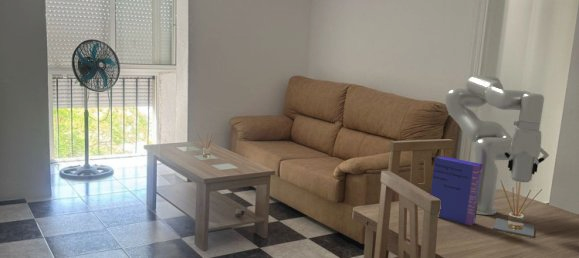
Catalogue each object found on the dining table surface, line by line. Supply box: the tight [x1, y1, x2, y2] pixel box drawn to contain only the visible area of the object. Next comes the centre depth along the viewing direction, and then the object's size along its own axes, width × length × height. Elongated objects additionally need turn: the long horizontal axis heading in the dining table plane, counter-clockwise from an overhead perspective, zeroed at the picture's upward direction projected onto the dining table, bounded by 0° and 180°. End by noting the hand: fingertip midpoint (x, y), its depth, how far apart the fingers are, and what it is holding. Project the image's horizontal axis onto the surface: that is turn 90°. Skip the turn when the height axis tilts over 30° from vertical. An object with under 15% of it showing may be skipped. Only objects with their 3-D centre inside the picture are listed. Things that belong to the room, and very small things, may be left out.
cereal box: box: [430, 155, 483, 227], centre depth 203 cm, size 17×5×24 cm, turn 50°
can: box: [509, 151, 535, 183], centre depth 195 cm, size 8×8×12 cm
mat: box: [492, 217, 535, 238], centre depth 199 cm, size 14×14×1 cm
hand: (521, 171), depth 196 cm, fingers closed on can, 7 cm apart
